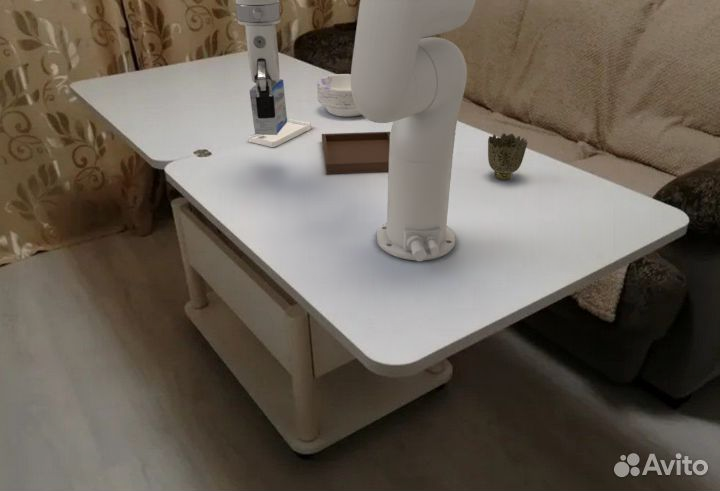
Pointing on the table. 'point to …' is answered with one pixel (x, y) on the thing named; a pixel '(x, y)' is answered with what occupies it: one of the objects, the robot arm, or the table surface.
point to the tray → (356, 152)
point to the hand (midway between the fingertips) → (267, 110)
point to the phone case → (281, 134)
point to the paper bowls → (337, 95)
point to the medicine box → (275, 124)
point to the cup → (505, 155)
